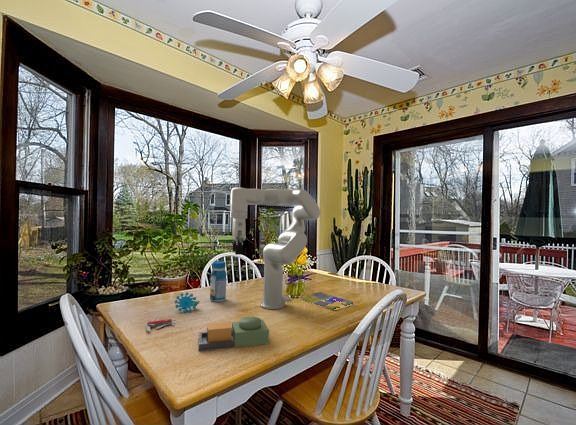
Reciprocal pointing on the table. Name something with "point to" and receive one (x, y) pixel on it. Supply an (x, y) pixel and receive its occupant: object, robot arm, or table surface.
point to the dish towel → (320, 296)
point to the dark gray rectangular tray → (213, 343)
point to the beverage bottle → (218, 282)
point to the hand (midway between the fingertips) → (237, 252)
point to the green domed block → (250, 332)
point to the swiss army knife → (159, 323)
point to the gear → (186, 302)
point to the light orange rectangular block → (219, 331)
